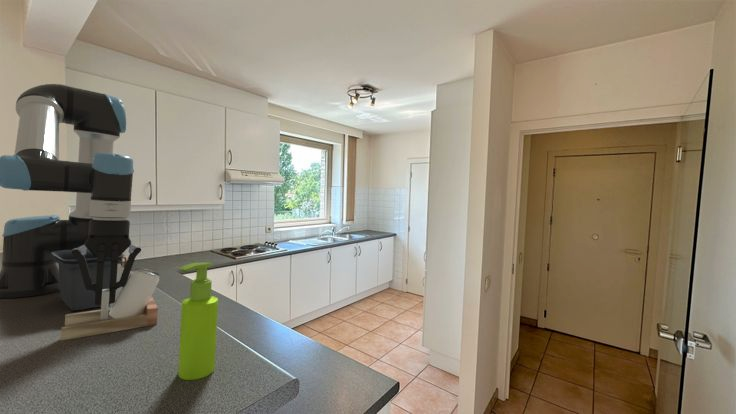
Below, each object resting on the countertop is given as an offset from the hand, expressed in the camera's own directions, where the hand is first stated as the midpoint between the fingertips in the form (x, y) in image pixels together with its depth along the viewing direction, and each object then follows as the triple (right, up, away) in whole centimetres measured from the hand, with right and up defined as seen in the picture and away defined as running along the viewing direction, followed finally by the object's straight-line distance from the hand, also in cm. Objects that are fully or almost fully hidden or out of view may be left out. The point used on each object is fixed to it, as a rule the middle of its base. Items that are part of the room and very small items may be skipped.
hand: (104, 317), depth 74 cm
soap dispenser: (+31, -4, -17) cm, 36 cm away
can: (+3, -1, +2) cm, 4 cm away
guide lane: (+1, -2, +1) cm, 2 cm away
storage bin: (-18, -1, +16) cm, 24 cm away
